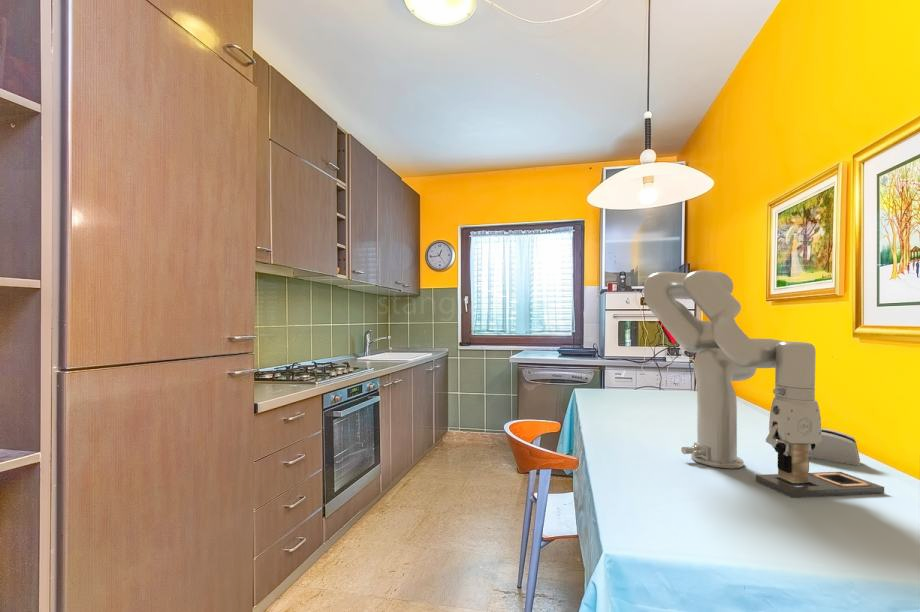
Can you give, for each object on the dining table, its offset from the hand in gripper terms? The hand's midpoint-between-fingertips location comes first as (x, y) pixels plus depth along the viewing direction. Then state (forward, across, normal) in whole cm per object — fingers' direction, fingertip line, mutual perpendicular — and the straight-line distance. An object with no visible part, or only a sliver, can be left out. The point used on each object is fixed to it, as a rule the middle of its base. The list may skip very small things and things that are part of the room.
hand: (793, 469), depth 103 cm
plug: (+2, 0, 0) cm, 2 cm away
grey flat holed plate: (+4, +6, -1) cm, 7 cm away
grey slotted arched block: (+5, +28, +19) cm, 35 cm away
